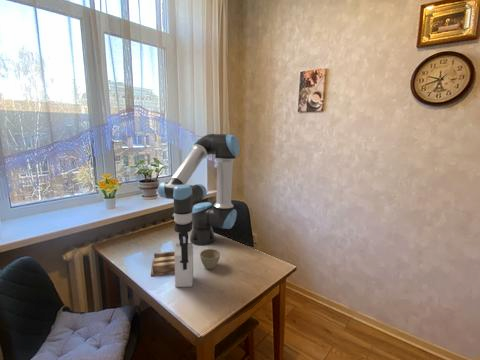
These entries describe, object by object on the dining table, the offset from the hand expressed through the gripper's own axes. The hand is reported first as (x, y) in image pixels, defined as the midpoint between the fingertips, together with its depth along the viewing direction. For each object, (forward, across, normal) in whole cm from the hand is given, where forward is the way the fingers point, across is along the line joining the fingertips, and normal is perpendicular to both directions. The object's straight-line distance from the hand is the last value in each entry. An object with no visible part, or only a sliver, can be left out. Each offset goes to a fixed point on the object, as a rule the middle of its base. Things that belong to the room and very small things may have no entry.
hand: (183, 266), depth 109 cm
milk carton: (+8, 0, 0) cm, 8 cm away
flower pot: (+8, -10, +13) cm, 18 cm away
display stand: (+8, -15, -7) cm, 18 cm away
